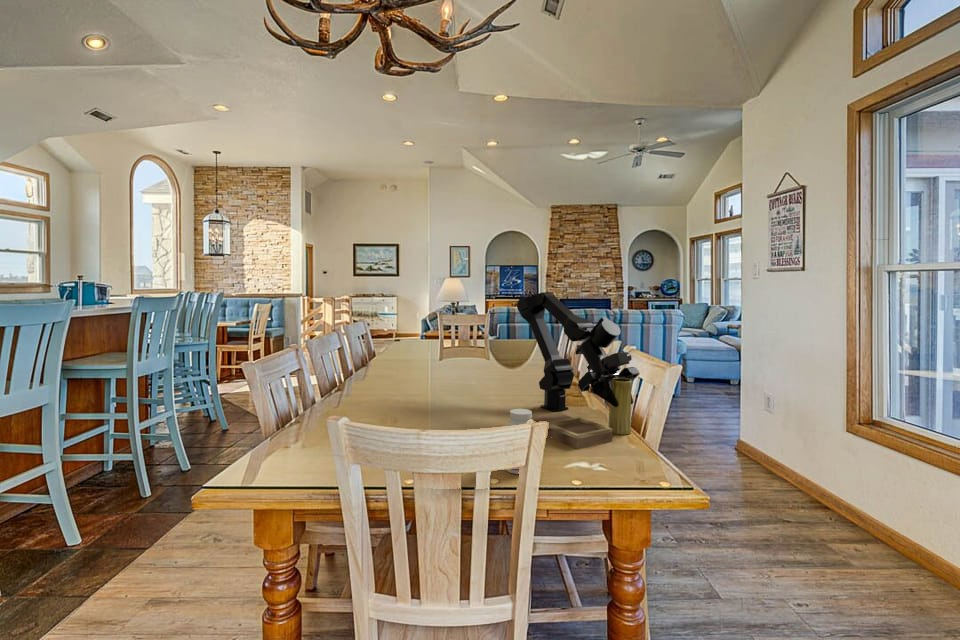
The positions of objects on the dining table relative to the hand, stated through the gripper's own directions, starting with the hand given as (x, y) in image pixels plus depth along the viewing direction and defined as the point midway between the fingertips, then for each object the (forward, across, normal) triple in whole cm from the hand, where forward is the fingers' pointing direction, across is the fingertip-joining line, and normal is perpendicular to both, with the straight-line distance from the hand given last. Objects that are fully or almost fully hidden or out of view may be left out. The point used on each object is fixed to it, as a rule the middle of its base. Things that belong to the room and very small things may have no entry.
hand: (624, 405), depth 139 cm
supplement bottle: (+11, -40, 0) cm, 41 cm away
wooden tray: (+1, -14, +10) cm, 17 cm away
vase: (+4, 0, +6) cm, 8 cm away
